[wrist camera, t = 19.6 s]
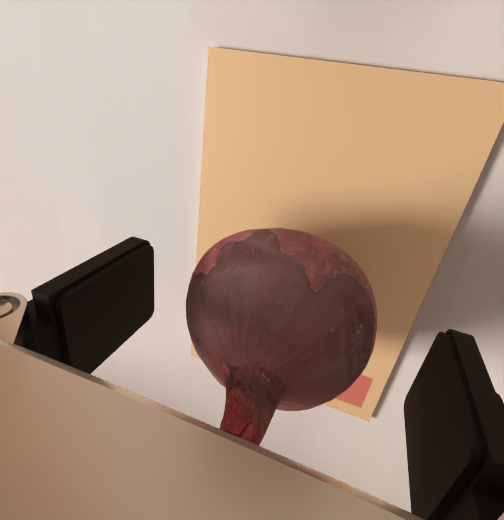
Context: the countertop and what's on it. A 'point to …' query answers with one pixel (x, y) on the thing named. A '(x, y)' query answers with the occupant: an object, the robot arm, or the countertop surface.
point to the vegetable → (279, 323)
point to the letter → (347, 172)
